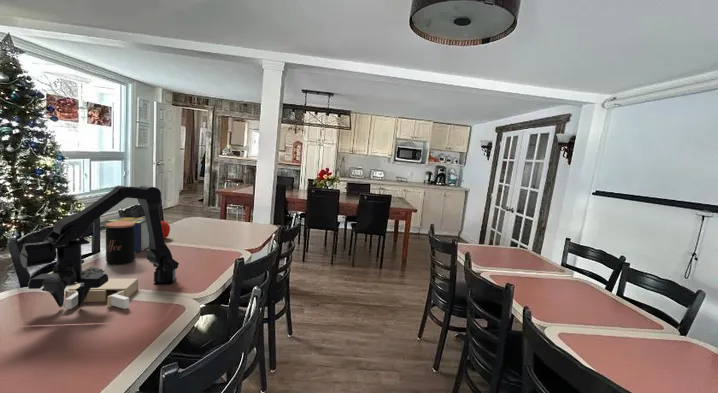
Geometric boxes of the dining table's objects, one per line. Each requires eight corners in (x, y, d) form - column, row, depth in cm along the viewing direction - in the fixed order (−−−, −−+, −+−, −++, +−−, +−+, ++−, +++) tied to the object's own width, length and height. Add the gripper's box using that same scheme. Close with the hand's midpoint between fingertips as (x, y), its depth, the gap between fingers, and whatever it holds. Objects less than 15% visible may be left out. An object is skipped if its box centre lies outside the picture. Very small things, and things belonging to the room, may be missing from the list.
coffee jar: (100, 262, 142) (99, 223, 140) (125, 256, 152) (125, 220, 150) (115, 267, 138) (115, 227, 136) (140, 260, 148) (140, 223, 146)
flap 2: (125, 300, 110) (125, 289, 109) (139, 304, 108) (139, 293, 107) (107, 307, 104) (107, 296, 104) (122, 311, 102) (122, 300, 102)
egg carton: (80, 287, 118) (80, 276, 118) (64, 284, 119) (63, 273, 119) (107, 276, 128) (107, 267, 128) (92, 274, 130) (92, 264, 129)
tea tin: (129, 291, 116) (129, 283, 115) (124, 296, 112) (124, 287, 112) (118, 292, 115) (117, 283, 114) (112, 296, 111) (112, 287, 111)
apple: (145, 240, 180) (145, 220, 179) (158, 236, 190) (159, 217, 189) (160, 242, 178) (160, 222, 177) (173, 238, 188) (174, 219, 187)
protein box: (120, 245, 168) (120, 216, 166) (150, 246, 169) (151, 218, 167) (106, 251, 157) (106, 220, 156) (139, 252, 159) (139, 222, 157)
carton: (137, 289, 119) (137, 278, 118) (124, 302, 109) (124, 289, 108) (85, 290, 115) (84, 278, 114) (66, 303, 105) (66, 290, 105)
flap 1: (86, 301, 107) (86, 290, 106) (73, 310, 100) (73, 299, 100) (66, 301, 106) (66, 290, 105) (52, 311, 99) (51, 299, 99)
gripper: (11, 268, 89) (14, 320, 91) (88, 268, 94) (89, 317, 95) (41, 256, 100) (43, 302, 102) (108, 256, 104) (109, 301, 106)
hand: (70, 306), depth 101 cm, fingers open, 5 cm apart
